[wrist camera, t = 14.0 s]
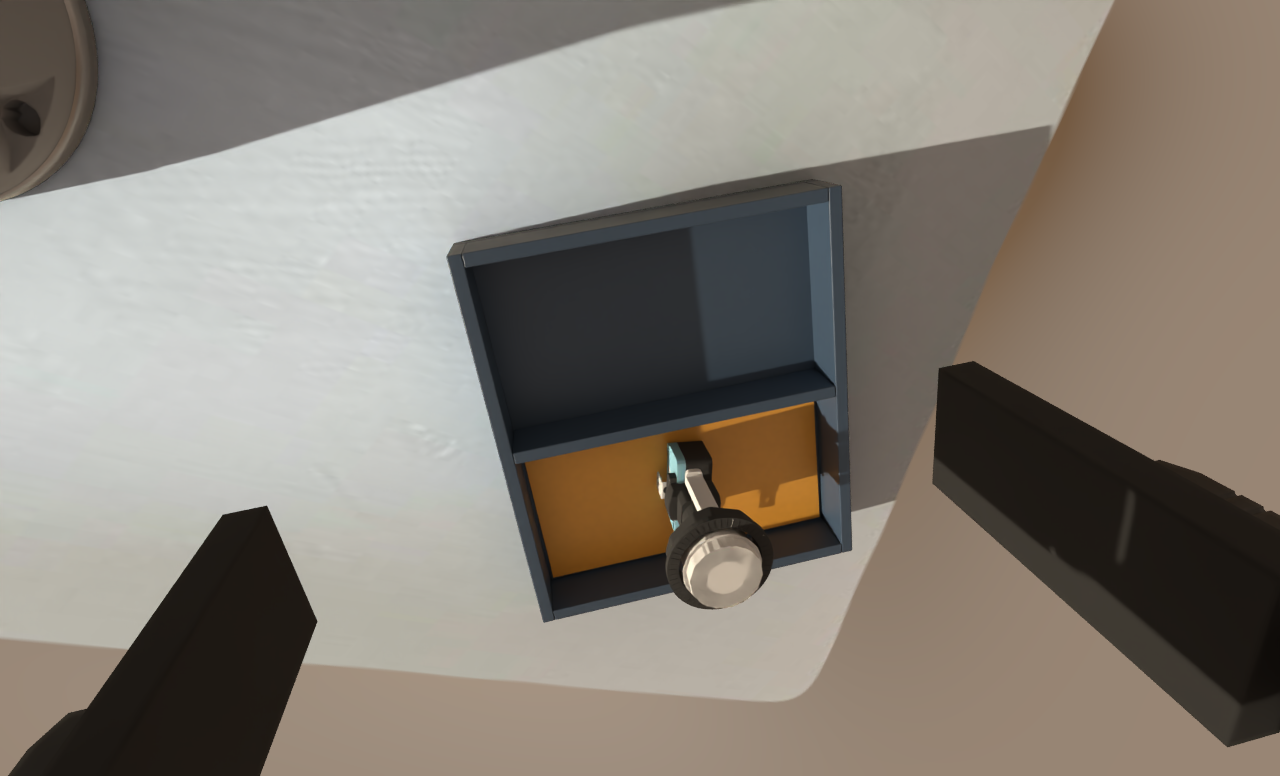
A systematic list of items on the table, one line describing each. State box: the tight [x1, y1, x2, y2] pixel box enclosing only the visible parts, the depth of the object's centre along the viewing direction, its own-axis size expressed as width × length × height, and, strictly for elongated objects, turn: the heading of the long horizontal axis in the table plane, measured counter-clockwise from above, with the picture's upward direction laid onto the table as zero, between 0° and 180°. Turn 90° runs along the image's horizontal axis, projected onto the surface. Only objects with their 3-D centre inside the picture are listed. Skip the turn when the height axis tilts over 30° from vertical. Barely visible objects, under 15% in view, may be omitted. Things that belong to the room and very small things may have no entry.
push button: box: [657, 441, 773, 609], centre depth 36 cm, size 7×5×10 cm
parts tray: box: [446, 179, 852, 622], centre depth 38 cm, size 19×22×4 cm
